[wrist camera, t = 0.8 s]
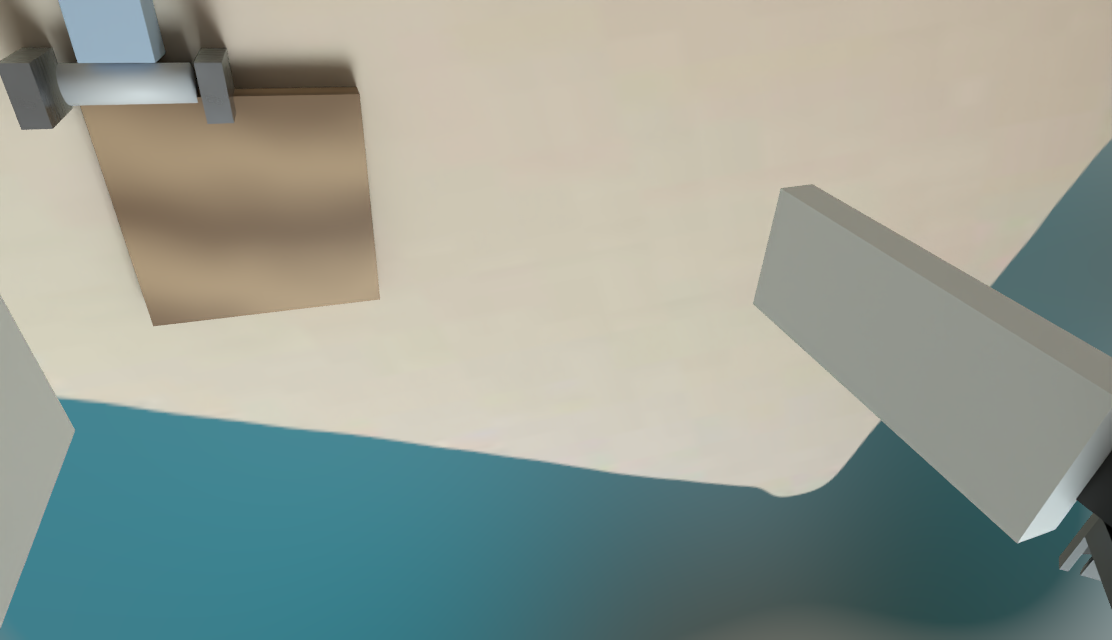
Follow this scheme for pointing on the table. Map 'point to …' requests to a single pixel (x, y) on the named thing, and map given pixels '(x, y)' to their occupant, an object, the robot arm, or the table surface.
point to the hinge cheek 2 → (215, 85)
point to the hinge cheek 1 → (34, 88)
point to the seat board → (242, 202)
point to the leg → (120, 57)
